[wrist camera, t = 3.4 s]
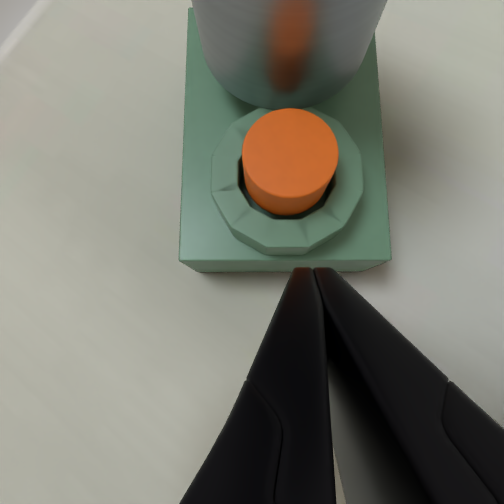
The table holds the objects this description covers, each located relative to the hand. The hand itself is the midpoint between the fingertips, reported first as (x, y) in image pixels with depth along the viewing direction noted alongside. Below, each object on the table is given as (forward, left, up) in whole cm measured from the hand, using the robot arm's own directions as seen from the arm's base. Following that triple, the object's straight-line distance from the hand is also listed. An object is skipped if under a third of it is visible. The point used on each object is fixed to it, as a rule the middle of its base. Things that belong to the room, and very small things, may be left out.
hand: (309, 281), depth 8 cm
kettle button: (+4, +4, -6) cm, 8 cm away
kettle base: (+6, +6, -12) cm, 15 cm away
